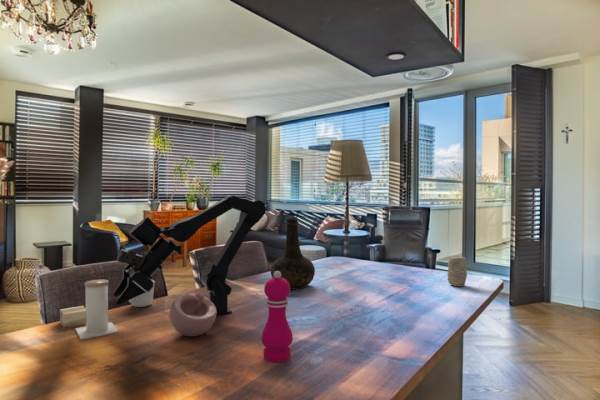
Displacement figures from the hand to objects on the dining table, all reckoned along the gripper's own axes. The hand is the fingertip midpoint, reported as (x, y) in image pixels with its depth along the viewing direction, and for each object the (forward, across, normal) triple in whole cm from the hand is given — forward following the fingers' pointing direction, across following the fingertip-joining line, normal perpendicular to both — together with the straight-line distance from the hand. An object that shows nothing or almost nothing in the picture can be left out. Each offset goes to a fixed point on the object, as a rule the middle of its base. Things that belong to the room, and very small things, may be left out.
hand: (115, 299), depth 108 cm
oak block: (+13, -11, -2) cm, 17 cm away
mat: (+9, 0, +2) cm, 9 cm away
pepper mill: (-15, +39, +28) cm, 51 cm away
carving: (-82, +13, +98) cm, 128 cm away
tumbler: (+9, 0, +2) cm, 9 cm away
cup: (0, -19, +12) cm, 22 cm away
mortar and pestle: (-6, +16, +18) cm, 25 cm away
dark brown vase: (-40, -18, +54) cm, 69 cm away
